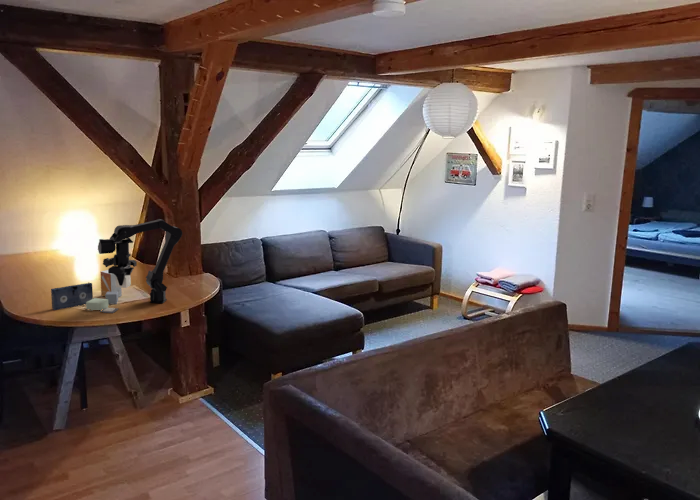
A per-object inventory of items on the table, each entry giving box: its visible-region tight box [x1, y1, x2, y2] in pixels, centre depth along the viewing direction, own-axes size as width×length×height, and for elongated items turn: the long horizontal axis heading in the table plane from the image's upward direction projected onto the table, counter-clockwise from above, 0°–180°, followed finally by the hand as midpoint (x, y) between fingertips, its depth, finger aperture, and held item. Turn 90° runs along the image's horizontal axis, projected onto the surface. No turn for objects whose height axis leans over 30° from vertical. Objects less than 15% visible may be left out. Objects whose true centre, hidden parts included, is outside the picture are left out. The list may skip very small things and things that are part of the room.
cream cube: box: [116, 275, 132, 289], centre depth 263 cm, size 5×5×5 cm
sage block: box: [85, 297, 110, 312], centre depth 261 cm, size 7×7×4 cm
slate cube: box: [105, 291, 119, 305], centre depth 270 cm, size 5×5×5 cm
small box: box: [100, 269, 123, 298], centre depth 280 cm, size 8×6×13 cm
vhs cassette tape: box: [50, 282, 94, 311], centre depth 262 cm, size 18×3×10 cm, turn 139°
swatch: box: [99, 307, 119, 314], centre depth 258 cm, size 6×6×1 cm
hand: (123, 284), depth 264 cm, fingers closed on cream cube, 5 cm apart
